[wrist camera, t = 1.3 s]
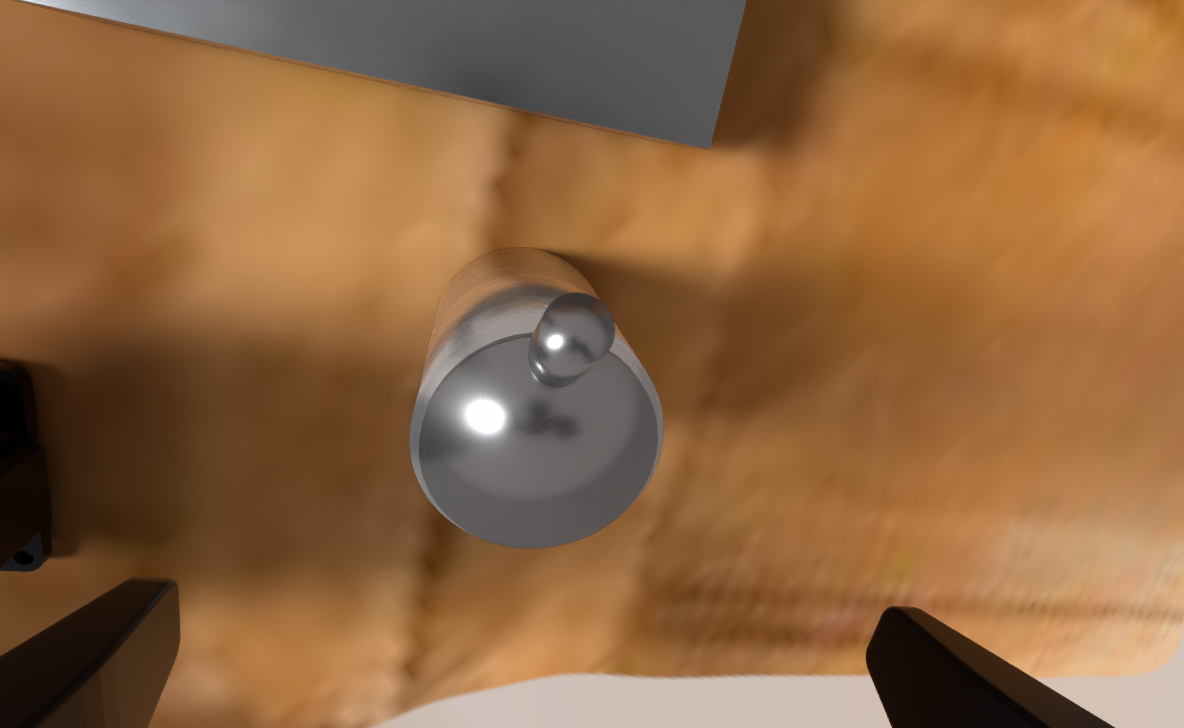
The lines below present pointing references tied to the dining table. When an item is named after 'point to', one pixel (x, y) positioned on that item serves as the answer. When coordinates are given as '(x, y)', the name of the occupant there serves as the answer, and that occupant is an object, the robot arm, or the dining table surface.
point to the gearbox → (485, 50)
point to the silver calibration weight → (531, 405)
